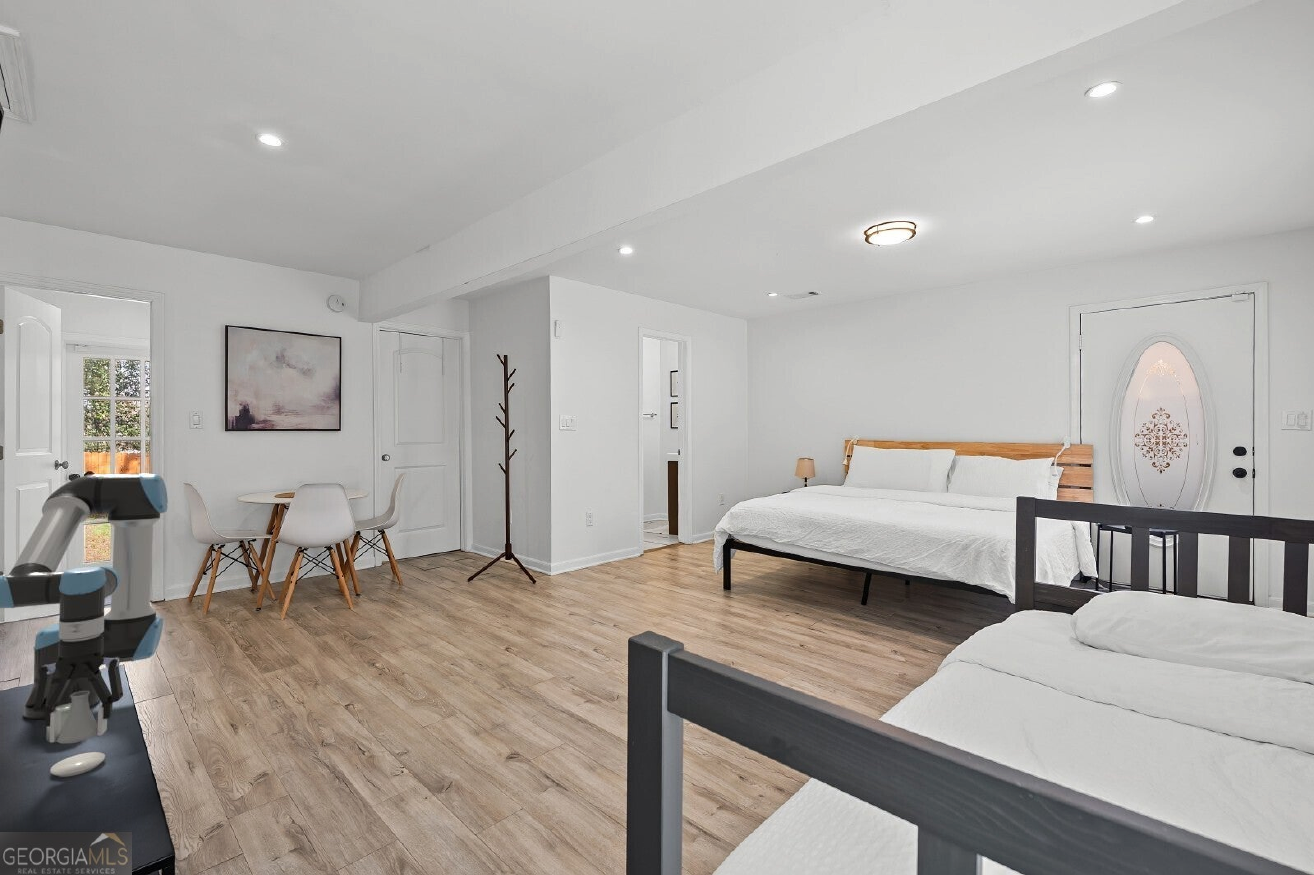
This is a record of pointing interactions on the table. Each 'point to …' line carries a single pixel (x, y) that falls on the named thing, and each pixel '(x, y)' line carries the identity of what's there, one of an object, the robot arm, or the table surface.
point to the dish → (77, 764)
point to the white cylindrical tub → (64, 714)
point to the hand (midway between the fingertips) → (78, 736)
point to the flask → (78, 720)
